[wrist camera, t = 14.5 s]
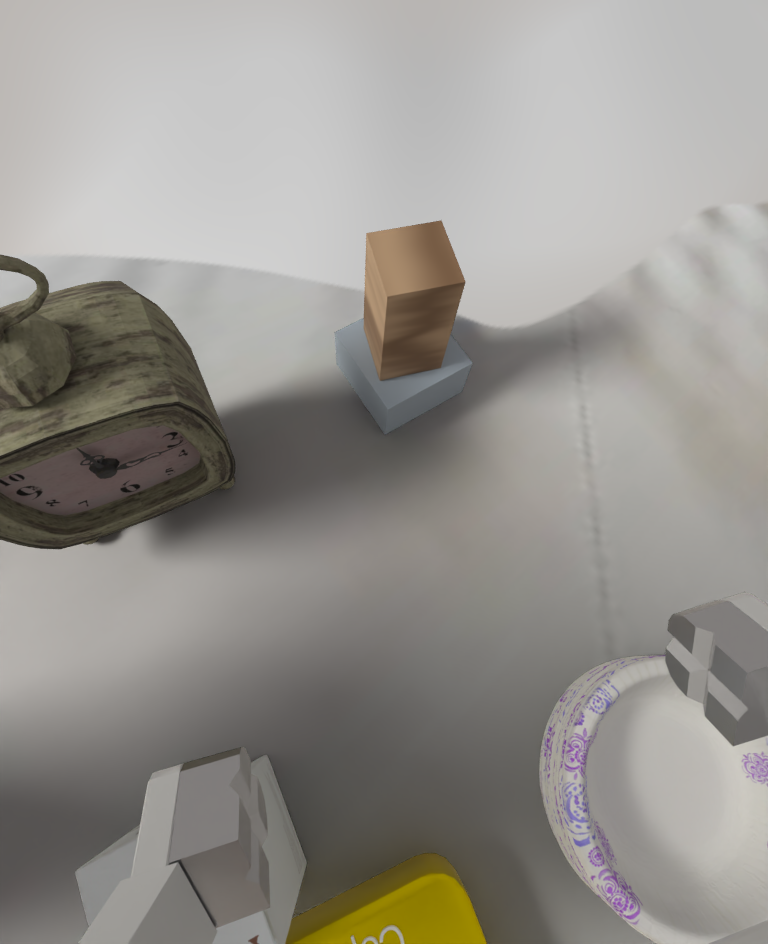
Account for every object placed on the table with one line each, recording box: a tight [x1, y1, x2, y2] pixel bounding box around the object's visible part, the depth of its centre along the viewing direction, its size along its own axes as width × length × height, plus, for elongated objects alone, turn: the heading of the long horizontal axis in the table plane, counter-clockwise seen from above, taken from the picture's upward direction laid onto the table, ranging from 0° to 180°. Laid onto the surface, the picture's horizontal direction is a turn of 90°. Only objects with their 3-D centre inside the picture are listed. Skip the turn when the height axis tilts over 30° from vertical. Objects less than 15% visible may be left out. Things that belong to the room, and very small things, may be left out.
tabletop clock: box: [0, 255, 235, 549], centre depth 32 cm, size 14×9×25 cm, turn 115°
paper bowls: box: [539, 655, 768, 944], centre depth 34 cm, size 15×15×8 cm
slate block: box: [335, 318, 473, 435], centre depth 46 cm, size 8×8×5 cm
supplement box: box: [75, 755, 307, 944], centre depth 30 cm, size 7×7×13 cm
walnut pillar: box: [364, 221, 465, 381], centre depth 39 cm, size 5×5×10 cm
